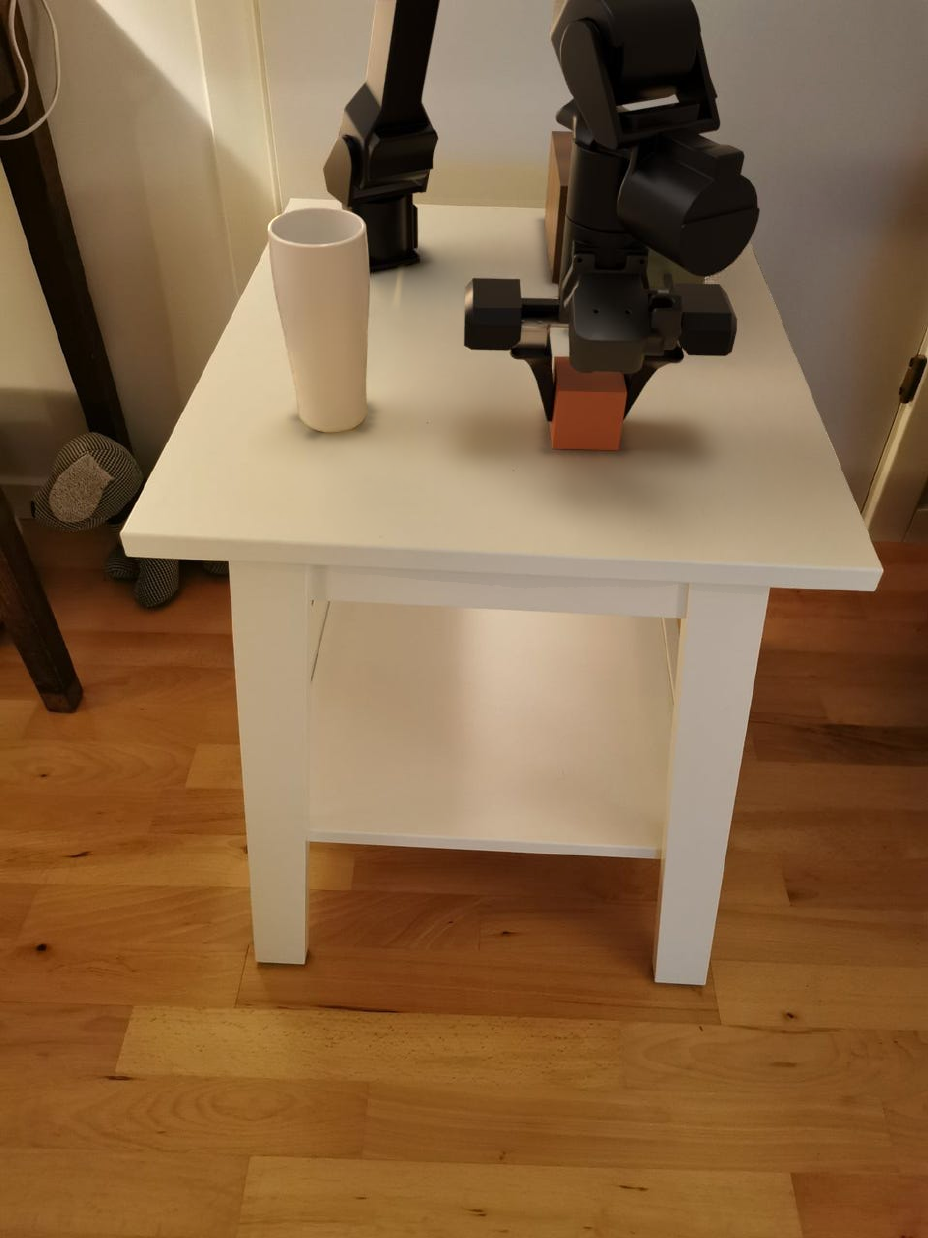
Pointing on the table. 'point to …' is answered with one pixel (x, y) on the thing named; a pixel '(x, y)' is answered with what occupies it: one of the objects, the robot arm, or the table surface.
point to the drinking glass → (324, 311)
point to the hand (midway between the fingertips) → (583, 419)
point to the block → (586, 408)
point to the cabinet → (557, 197)
